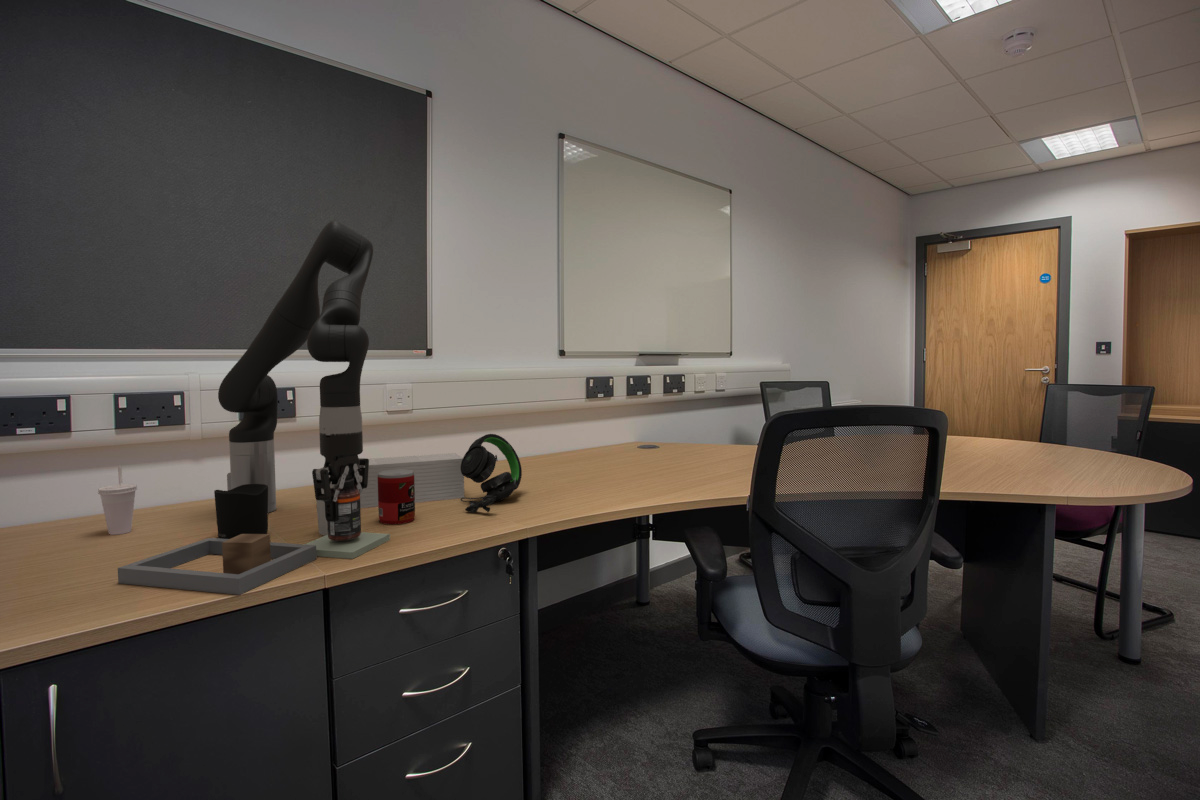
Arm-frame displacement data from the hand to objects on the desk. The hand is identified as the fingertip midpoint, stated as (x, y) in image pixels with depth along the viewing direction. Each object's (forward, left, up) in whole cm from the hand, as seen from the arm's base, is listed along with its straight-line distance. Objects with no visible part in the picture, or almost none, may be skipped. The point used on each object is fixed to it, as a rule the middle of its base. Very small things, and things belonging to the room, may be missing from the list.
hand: (343, 516), depth 114 cm
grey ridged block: (-12, +39, -6) cm, 41 cm away
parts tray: (-12, -16, -6) cm, 21 cm away
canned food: (-1, +20, -6) cm, 21 cm away
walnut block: (-7, -16, -6) cm, 19 cm away
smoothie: (-53, -1, -6) cm, 53 cm away
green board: (0, 0, -6) cm, 6 cm away
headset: (+14, +41, -6) cm, 44 cm away
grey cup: (-9, +9, -6) cm, 14 cm away
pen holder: (-25, +2, -6) cm, 26 cm away
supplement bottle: (0, 0, -4) cm, 4 cm away
